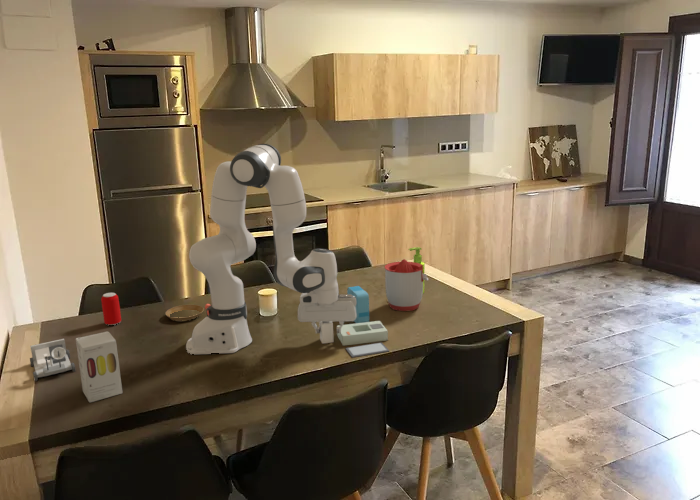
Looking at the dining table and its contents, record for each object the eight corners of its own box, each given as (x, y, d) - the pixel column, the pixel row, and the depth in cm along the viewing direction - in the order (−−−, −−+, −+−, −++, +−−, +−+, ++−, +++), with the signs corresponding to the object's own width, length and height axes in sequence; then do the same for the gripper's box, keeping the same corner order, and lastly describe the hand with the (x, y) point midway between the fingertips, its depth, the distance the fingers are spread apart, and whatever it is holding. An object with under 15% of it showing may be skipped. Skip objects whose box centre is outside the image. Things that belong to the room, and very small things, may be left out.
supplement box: (89, 403, 161) (80, 348, 157) (81, 391, 168) (73, 338, 164) (124, 393, 166) (116, 339, 162) (115, 381, 174) (108, 330, 170)
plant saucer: (209, 310, 233) (209, 304, 232) (196, 324, 219) (196, 317, 218) (175, 310, 235) (174, 304, 234) (159, 323, 220) (159, 317, 220)
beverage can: (107, 328, 217) (103, 298, 214) (102, 323, 221) (98, 294, 218) (124, 323, 220) (120, 294, 217) (118, 319, 225) (114, 290, 222)
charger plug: (322, 343, 197) (321, 324, 195) (320, 339, 201) (319, 320, 199) (333, 342, 198) (332, 322, 196) (331, 337, 202) (330, 318, 200)
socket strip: (343, 345, 195) (342, 335, 194) (336, 334, 204) (336, 325, 203) (387, 340, 198) (387, 330, 197) (379, 329, 208) (379, 320, 207)
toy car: (72, 347, 176) (30, 356, 170) (77, 376, 179) (35, 386, 173) (64, 329, 191) (25, 337, 185) (69, 356, 194) (30, 365, 188)
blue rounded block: (369, 324, 213) (369, 293, 210) (358, 326, 212) (357, 295, 209) (358, 313, 224) (358, 284, 221) (347, 315, 223) (347, 286, 220)
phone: (352, 359, 186) (352, 356, 185) (345, 350, 192) (345, 347, 192) (389, 353, 190) (389, 350, 189) (381, 345, 196) (381, 342, 196)
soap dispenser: (406, 291, 249) (406, 247, 244) (420, 289, 251) (421, 245, 246) (411, 295, 244) (411, 250, 239) (426, 293, 246) (426, 248, 241)
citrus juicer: (427, 314, 221) (427, 265, 217) (383, 313, 224) (382, 264, 219) (428, 301, 236) (429, 254, 231) (386, 299, 239) (386, 253, 234)
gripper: (357, 291, 196) (359, 328, 199) (298, 292, 199) (301, 329, 202) (355, 297, 190) (357, 335, 193) (295, 298, 192) (298, 336, 196)
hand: (328, 332), depth 198 cm, fingers open, 6 cm apart
